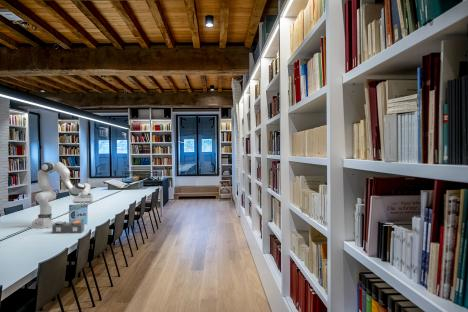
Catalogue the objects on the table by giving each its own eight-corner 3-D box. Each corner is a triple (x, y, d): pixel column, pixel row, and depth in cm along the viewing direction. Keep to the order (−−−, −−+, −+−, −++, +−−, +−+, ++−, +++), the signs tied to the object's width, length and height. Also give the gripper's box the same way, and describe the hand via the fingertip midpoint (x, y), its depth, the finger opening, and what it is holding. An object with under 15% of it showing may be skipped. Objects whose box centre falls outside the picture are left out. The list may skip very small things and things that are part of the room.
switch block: (52, 233, 345) (52, 223, 345) (55, 231, 356) (56, 221, 356) (80, 233, 349) (81, 223, 349) (84, 230, 360) (84, 221, 360)
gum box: (86, 222, 401) (87, 203, 401) (87, 223, 397) (87, 204, 397) (68, 224, 391) (69, 204, 391) (69, 225, 386) (69, 205, 386)
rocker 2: (74, 221, 357) (74, 220, 357) (80, 221, 358) (80, 220, 357) (72, 224, 350) (72, 223, 350) (78, 224, 351) (78, 222, 351)
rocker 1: (58, 223, 354) (58, 221, 355) (64, 223, 355) (64, 221, 356) (56, 223, 348) (56, 221, 348) (62, 223, 348) (62, 221, 349)
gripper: (73, 194, 375) (70, 204, 366) (93, 193, 378) (90, 203, 368) (75, 197, 380) (72, 207, 370) (94, 197, 382) (91, 207, 373)
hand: (81, 205), depth 369 cm, fingers closed
